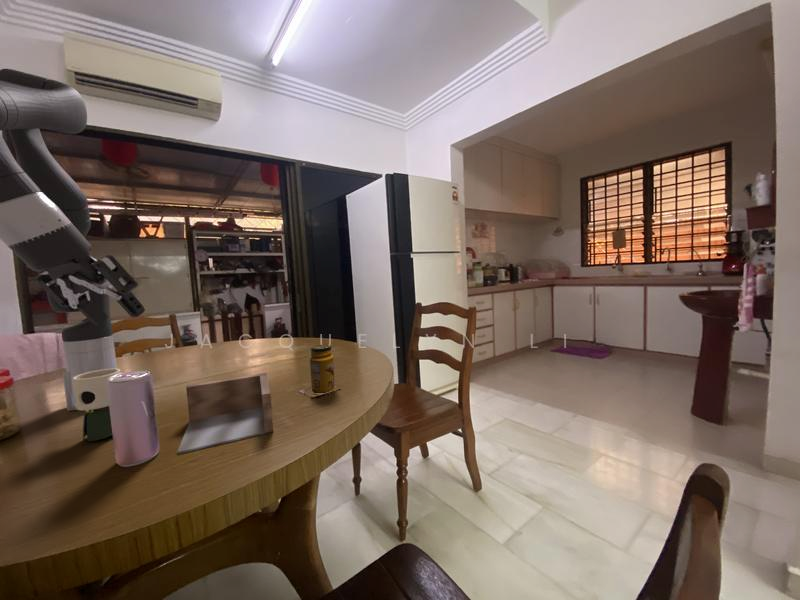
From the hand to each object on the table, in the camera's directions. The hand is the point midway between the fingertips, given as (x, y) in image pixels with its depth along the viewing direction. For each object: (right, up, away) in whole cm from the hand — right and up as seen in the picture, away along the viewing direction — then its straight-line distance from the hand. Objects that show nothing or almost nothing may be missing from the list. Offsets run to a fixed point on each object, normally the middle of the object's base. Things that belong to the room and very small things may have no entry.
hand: (120, 318), depth 55 cm
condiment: (+27, -21, +31) cm, 46 cm away
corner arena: (+12, -23, +12) cm, 29 cm away
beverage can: (+2, -25, +1) cm, 25 cm away
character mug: (-12, -25, +10) cm, 29 cm away
